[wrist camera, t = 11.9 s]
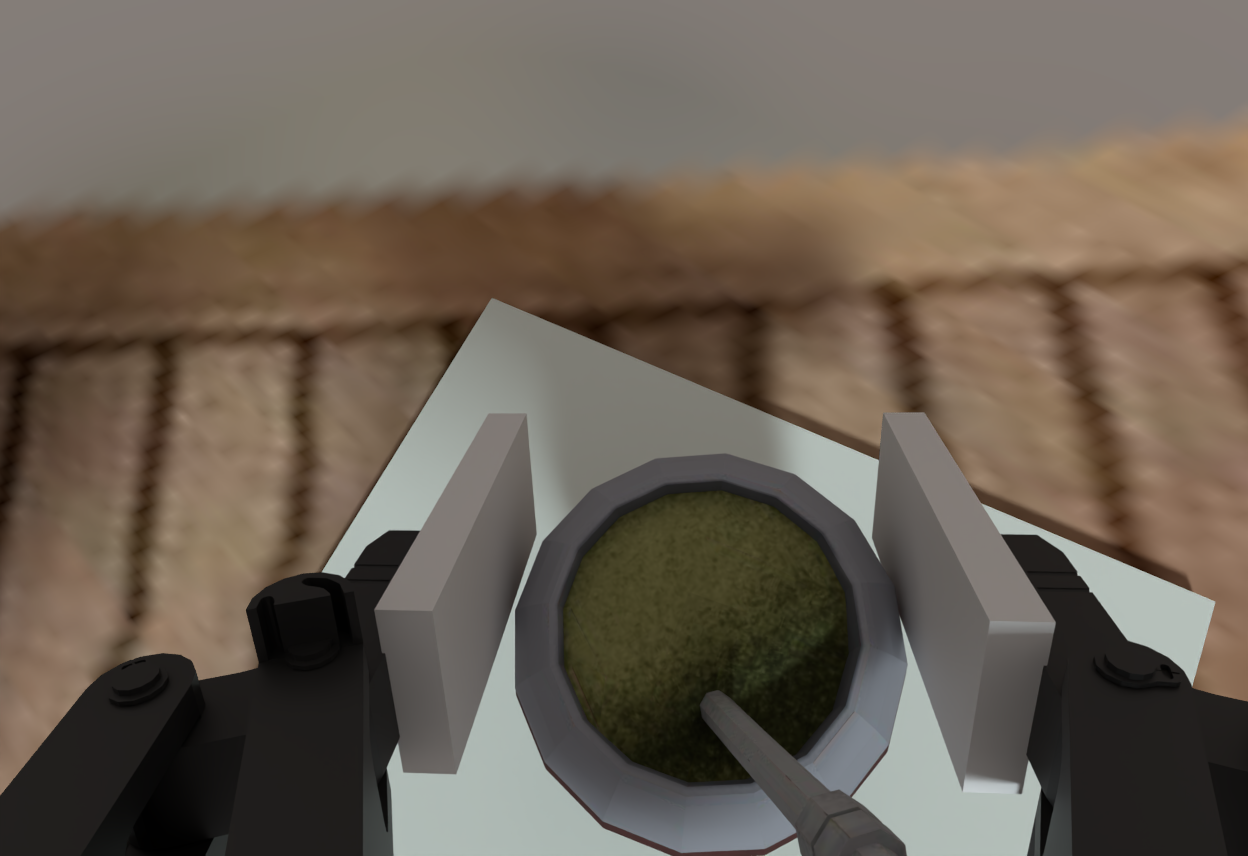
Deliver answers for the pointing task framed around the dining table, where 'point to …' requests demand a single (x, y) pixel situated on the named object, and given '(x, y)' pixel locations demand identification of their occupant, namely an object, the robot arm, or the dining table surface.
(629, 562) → the mate gourd
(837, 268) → the dining table surface
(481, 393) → the sage tile
